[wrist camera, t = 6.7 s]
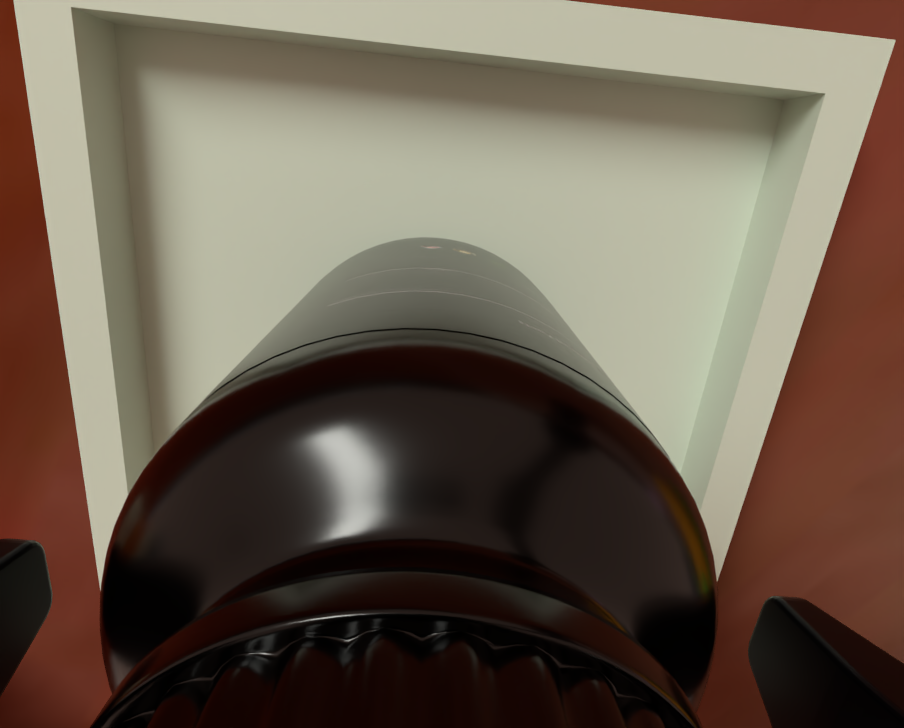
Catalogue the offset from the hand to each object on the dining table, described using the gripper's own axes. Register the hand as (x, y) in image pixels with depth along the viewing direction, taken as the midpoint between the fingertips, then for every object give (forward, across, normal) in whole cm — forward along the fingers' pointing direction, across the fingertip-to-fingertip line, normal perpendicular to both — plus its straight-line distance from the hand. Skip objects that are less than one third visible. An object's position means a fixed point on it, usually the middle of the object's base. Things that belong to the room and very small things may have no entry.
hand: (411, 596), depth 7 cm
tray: (+8, 0, 0) cm, 8 cm away
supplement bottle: (+8, 0, 0) cm, 8 cm away
